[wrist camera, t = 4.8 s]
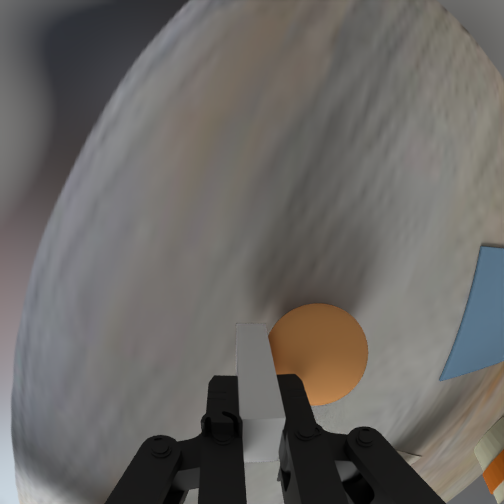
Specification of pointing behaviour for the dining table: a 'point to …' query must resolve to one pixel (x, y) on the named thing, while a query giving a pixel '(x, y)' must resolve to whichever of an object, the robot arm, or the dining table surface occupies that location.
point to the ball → (320, 350)
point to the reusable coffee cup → (493, 459)
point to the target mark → (481, 319)
